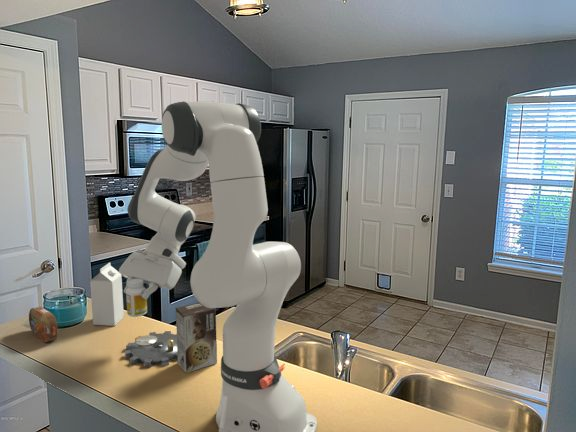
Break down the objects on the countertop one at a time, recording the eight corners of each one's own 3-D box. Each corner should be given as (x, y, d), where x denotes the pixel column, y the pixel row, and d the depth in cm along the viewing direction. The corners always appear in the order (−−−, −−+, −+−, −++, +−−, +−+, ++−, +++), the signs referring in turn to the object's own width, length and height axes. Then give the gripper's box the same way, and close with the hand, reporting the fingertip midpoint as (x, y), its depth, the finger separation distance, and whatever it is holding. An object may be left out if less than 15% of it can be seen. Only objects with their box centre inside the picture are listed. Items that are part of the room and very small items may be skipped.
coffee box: (207, 353, 123) (206, 300, 120) (217, 363, 118) (217, 308, 115) (176, 362, 118) (174, 307, 115) (185, 373, 113) (183, 315, 110)
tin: (29, 330, 135) (26, 305, 133) (39, 327, 137) (37, 302, 135) (49, 346, 125) (47, 319, 123) (60, 342, 127) (58, 316, 126)
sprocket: (203, 346, 127) (203, 331, 126) (155, 374, 112) (154, 358, 111) (161, 330, 136) (160, 316, 136) (111, 354, 121) (110, 339, 121)
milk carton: (93, 325, 139) (88, 268, 135) (103, 316, 146) (99, 261, 142) (114, 326, 138) (111, 269, 135) (124, 316, 145) (121, 262, 142)
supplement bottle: (150, 309, 126) (148, 278, 124) (142, 317, 121) (140, 284, 119) (132, 309, 127) (130, 277, 125) (123, 316, 121) (121, 283, 119)
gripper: (129, 243, 131) (103, 283, 125) (178, 254, 121) (152, 298, 115) (142, 254, 136) (117, 293, 130) (190, 265, 126) (166, 308, 119)
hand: (134, 295), depth 122 cm, fingers closed on supplement bottle, 5 cm apart
